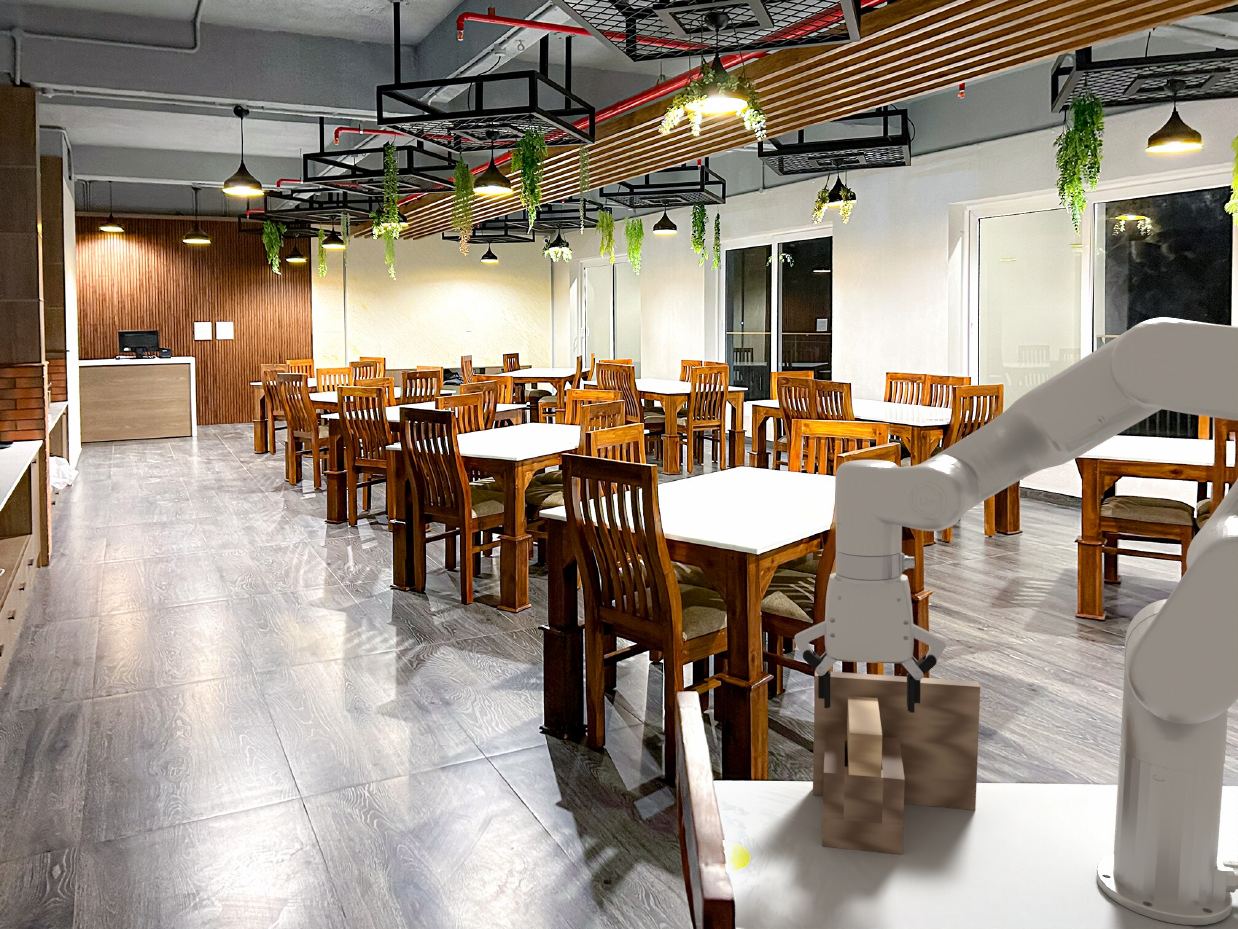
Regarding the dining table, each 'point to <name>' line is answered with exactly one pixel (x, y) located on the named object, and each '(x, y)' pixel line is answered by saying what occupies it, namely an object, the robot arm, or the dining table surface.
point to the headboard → (895, 757)
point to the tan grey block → (864, 737)
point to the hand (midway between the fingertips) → (868, 706)
